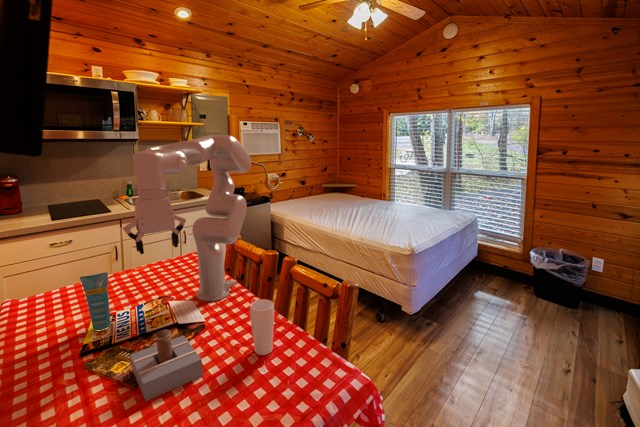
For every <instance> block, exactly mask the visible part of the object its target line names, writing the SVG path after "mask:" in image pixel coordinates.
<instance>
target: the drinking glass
mask: <svg viewBox="0 0 640 427" xmlns="http://www.w3.org/2000/svg"><path fill="white" fill-rule="evenodd" d="M274 305H275V304H274V302H273V301H272V300H270V299H265V298H264V299H257V300H254V301H253V302H251V303H250V305H249V314H250V316H249V317H250V324H251V333H252V338H253V346H254V347H253V348H254V352H255V354H256V355H258V356H266V355H269V354H270V353H271V352H272V351H273V347H274V346H273V342H274V328H275V327H274V326H275V325H274V323H275V308H274V307H275V306H274Z"/></svg>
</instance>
